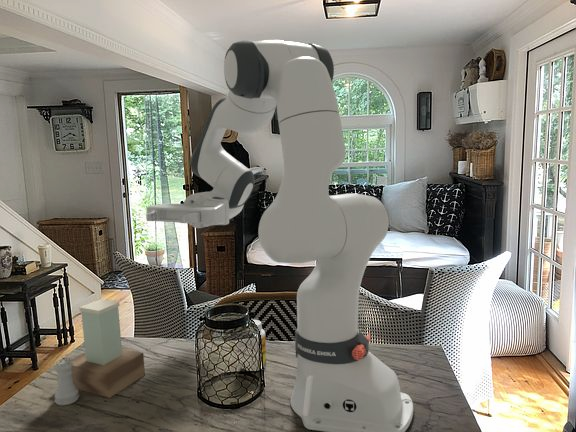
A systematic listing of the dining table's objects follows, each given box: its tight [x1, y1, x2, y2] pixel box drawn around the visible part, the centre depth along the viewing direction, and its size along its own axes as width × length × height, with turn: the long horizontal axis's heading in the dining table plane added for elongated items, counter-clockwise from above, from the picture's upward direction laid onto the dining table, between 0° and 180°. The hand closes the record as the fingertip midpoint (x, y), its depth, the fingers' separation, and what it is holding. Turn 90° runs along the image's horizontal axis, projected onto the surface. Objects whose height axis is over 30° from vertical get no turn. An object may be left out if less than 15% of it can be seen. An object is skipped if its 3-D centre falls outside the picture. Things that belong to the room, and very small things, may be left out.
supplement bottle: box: [252, 319, 267, 369], centre depth 102 cm, size 6×6×10 cm
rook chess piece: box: [54, 358, 80, 407], centre depth 91 cm, size 4×4×8 cm
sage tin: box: [78, 298, 123, 365], centre depth 97 cm, size 5×5×12 cm
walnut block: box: [70, 347, 146, 399], centre depth 99 cm, size 12×10×5 cm
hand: (164, 218), depth 108 cm, fingers open, 8 cm apart
